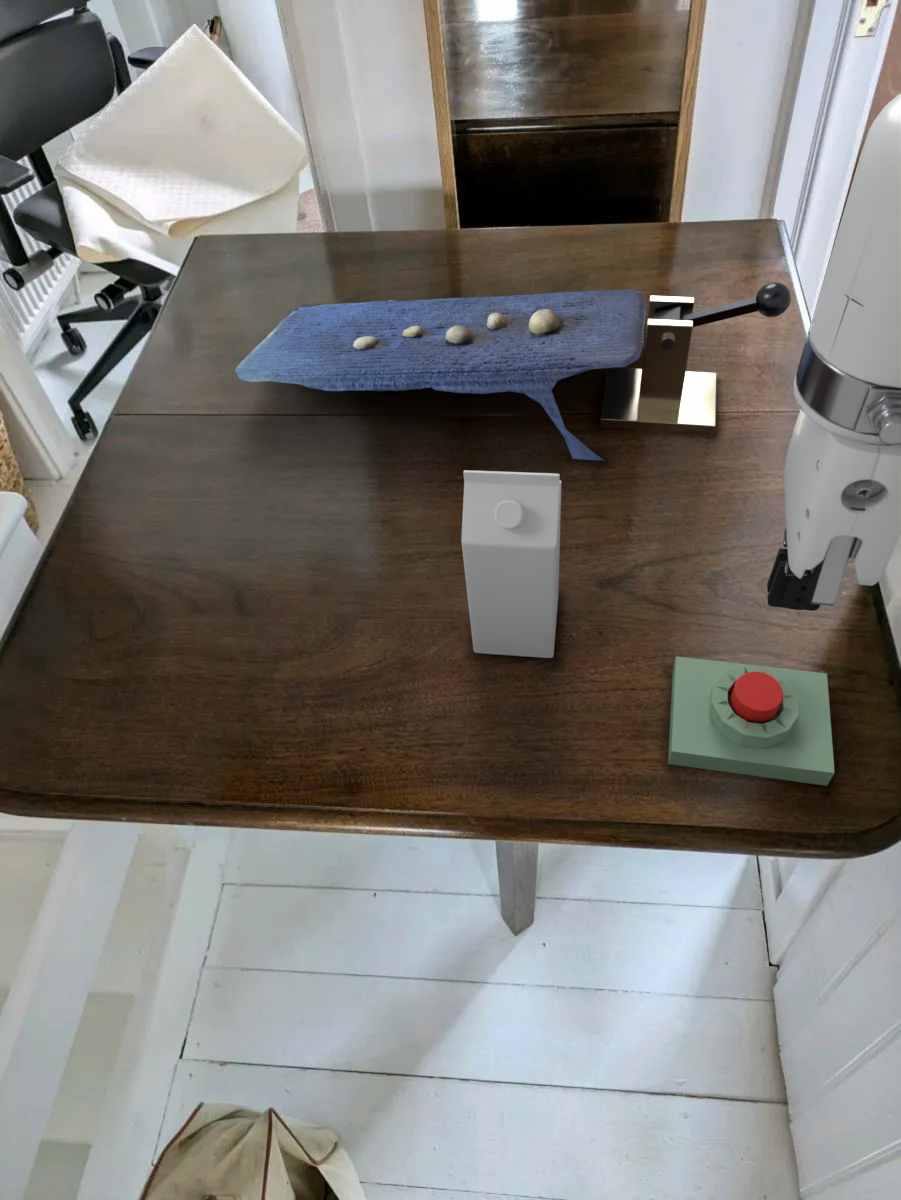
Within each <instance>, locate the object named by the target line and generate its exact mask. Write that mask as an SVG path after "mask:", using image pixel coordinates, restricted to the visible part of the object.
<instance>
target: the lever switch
mask: <svg viewBox="0 0 901 1200" xmlns="http://www.w3.org/2000/svg"><path fill="white" fill-rule="evenodd" d="M791 301H792V294H791V292H790V289H789V288H788V286H787V285H785V284H784V283H781V282H779V281H772V282H768V283H766V284H765V285H763V286H761V288H760V289H759V290H758V292H757V294H756V296H752V297H749V298H745V299H742V300H737V301H733V302H729V303H725V304H722V305H717V306H714V307H710V308H706V309H702V310H699V311H695V312H694V311H693V313H690V314H686V315H683V313H682V310H681V307H677V308H673V309H669V310H665V311H661V312H657V313H654V314H653V319H664V320H688V321H693V328H696V327H700V326H704V325H708V324H712V323H716V322H720V321H724V320H728V319H732V318H736V317H739V316H744V315H748V314H751V313H756V312H759V314H761V315H762V316H764V317H766V318H776V317H779V316H781V315H783V314H784V313H785V312H786V311H787V310H788V308H789V307H790V304H791Z"/></svg>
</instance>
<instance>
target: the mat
mask: <svg viewBox="0 0 901 1200" xmlns="http://www.w3.org/2000/svg"><path fill="white" fill-rule="evenodd" d="M645 323H646V295H645V294H644V293H643V292H642V291H640V290H637V289H634V288H630V289H629V288H628V289H602V290H601V289H600V290H588V291H587V290H585V291H584V290H583V291H577V290H576V291H573V290H572V291H557V292H547V293H545V292H544V293H534V294H533V293H532V294H530V293H529V294H514V295H501V296H475V297H473V296H472V297H471V296H470V297H449V298H445V297H444V298H432V299H413V300H400V301H399V300H395V299H388V300H378V301H377V300H375V301H374V300H373V301H365V302H362V301H361V302H347V303H346V302H345V303H329V304H320V305H309V306H304V307H303V306H301V307H297V308H295V309H293V310H292V311H291V312H290V313H289V315H287V316H285V317H284V318H283V319H282V320H281V321H280V322H279V323H278V324H277V326H276V327H275V328H274V329H272V331H271V332H270V333H268V335H267V336H266V337H265V338H264V339H263V340H262V341H261V342H259V344H258V345H256V346H255V348H254V349H252V351H251V352H250V353H249V354H248V355H247V356H246V357H245V358H244V359H242V360H241V361H240V363H239V364H238V365H237V366H236V368H235V370H234V371H235V373H236V374H237V376H238V379H239V380H240V381H244V382H249V383H250V382H251V383H260V382H275V383H282V384H296V385H300V386H302V387H306V388H309V389H314V390H321V391H326V392H331V391H332V392H343V391H344V392H345V391H347V392H349V391H352V392H353V391H354V392H357V391H358V392H364V391H372V392H389V391H393V392H399V391H402V392H404V391H410V390H411V391H413V390H424V389H428V388H429V389H430V388H431V389H433V390H434V391H438V392H450V393H456V394H478V395H486V394H493V393H506V392H509V393H510V392H511V393H517V394H518V393H519V394H524V395H525V396H527V397H528V398H530V399H531V400H533V401H535V402H537V403H538V404H540V405H541V407H542V408H543V409H544V411H545V412H546V414H547V415H548V417H549V418H550V420H551V421H552V422H553V424H554V425H555V427H556V428H557V429H558V431H559V432H560V434H561V435H562V436H563V438H564V440H565V443H566V446H567V448H568V450H569V453H570V457H571V458H572V459H573V460H582V461H583V460H584V461H585V460H586V461H600V462H601V461H603V462H605V461H606V460H605V459H603V458H602V457H600V456H599V455H598V454H596V453H595V452H593V451H592V450H591V449H589V447H588V446H586V445H585V444H584V443H583V442H582V441H580V440H579V439H578V438H577V437H576V436H575V435H573V434H572V433H571V432H570V431H568V430H567V428H566V426H565V423H564V421H563V418H562V415H561V413H560V410H559V406H558V405H557V402H556V399H555V396H554V394H553V391H552V390H553V389H554V387H555V386H556V384H557V383H558V381H560V380H563V379H566V378H570V377H571V376H575V375H578V374H581V373H584V372H587V371H590V370H597V369H598V370H599V369H608V368H614V367H616V368H627V367H628V366H629V365H631V364H632V363H634V362H636V361H637V360H639V359H640V356H641V354H642V350H643V349H644V348H643V347H644V342H645V337H644V336H645V335H644V334H645Z"/></svg>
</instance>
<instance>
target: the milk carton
mask: <svg viewBox="0 0 901 1200" xmlns="http://www.w3.org/2000/svg"><path fill="white" fill-rule="evenodd" d="M560 479H561V475H560V473H555V472H554V473H551V472H550V473H549V472H526V471H525V472H523V471H498V470H470V469H469V470H467V469H464V470H463V499H462V501H463V502H462V517H461V518H462V520H461V538H460V539H461V540H460V541H461V549H462V560H463V568H464V579H465V586H466V595H467V603H468V605H467V606H468V613H469V621H470V631H471V632H470V633H471V641H472V650H473V652H474V653H475V654H486V655H498V656H499V655H501V656H512V657H530V658H543V659H553V658H554V656H555V655H554V654H555V641H556V631H557V630H556V629H557V620H558V619H557V616H558V606H559V605H558V603H559V589H560V588H559V587H560V586H559V585H560V556H561V555H560V553H561V519H562V518H561V513H562V480H560Z"/></svg>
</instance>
